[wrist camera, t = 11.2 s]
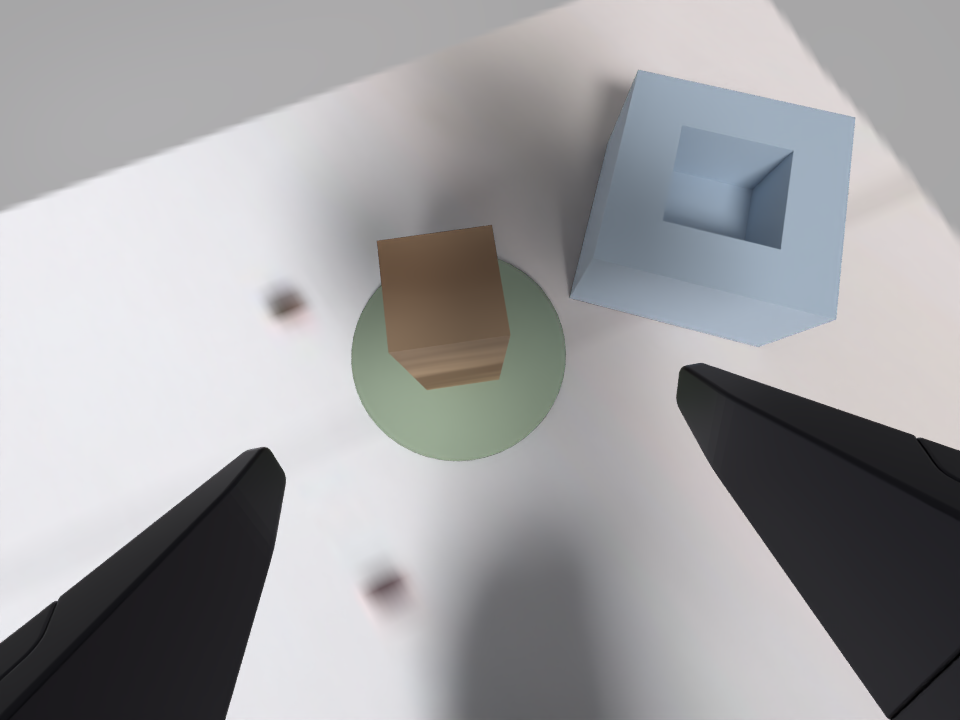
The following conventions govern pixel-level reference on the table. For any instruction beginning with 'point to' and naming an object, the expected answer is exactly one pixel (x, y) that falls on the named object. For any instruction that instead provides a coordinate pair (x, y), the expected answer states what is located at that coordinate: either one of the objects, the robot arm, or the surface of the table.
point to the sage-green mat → (471, 407)
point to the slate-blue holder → (719, 212)
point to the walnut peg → (445, 306)
